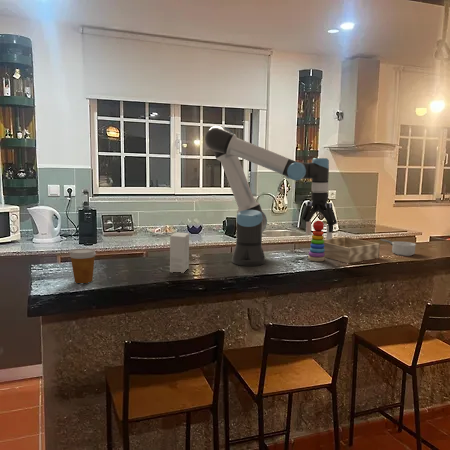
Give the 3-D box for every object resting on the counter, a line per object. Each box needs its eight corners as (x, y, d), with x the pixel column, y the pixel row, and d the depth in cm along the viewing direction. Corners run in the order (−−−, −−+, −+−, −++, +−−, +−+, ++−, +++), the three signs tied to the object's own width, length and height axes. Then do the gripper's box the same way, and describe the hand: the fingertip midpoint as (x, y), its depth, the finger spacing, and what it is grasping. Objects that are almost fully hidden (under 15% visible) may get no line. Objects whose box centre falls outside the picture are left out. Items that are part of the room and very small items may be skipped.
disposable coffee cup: (100, 278, 169) (99, 248, 167) (91, 285, 160) (90, 253, 158) (76, 278, 170) (75, 247, 168) (66, 284, 160) (64, 252, 158)
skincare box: (175, 267, 188) (175, 232, 185) (190, 268, 187) (190, 232, 184) (169, 272, 180) (169, 235, 177) (184, 273, 178) (184, 236, 176)
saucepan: (387, 248, 237) (388, 238, 237) (420, 255, 220) (421, 244, 219) (373, 250, 232) (373, 239, 231) (405, 257, 215) (406, 246, 214)
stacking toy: (326, 262, 202) (328, 222, 199) (309, 261, 202) (311, 221, 200) (323, 258, 210) (325, 219, 207) (306, 257, 210) (308, 219, 207)
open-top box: (347, 263, 200) (348, 248, 199) (313, 254, 219) (314, 240, 218) (379, 257, 212) (380, 243, 211) (344, 249, 231) (345, 236, 230)
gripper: (346, 193, 193) (344, 240, 196) (306, 190, 214) (305, 232, 217) (334, 193, 189) (332, 241, 192) (295, 190, 210) (294, 234, 213)
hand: (318, 237), depth 204 cm, fingers open, 13 cm apart
